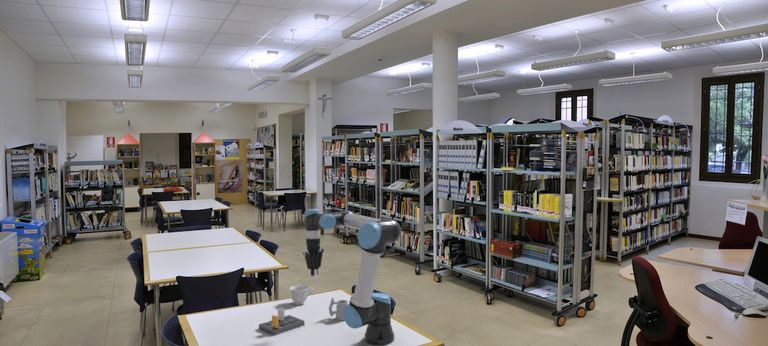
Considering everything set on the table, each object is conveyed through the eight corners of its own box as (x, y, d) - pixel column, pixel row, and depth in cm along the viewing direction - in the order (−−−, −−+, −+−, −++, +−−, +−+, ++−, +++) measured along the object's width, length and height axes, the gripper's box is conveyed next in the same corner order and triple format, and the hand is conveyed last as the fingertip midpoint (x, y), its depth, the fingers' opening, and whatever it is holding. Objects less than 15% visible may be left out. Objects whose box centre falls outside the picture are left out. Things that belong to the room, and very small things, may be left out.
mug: (347, 321, 265) (347, 300, 265) (327, 320, 267) (327, 299, 266) (350, 316, 273) (350, 296, 272) (330, 315, 274) (330, 295, 274)
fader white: (284, 319, 260) (284, 308, 260) (281, 320, 259) (281, 309, 258) (280, 318, 263) (280, 307, 262) (277, 319, 261) (277, 308, 261)
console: (304, 325, 259) (304, 320, 259) (273, 335, 245) (273, 330, 245) (289, 319, 269) (289, 314, 269) (258, 329, 254) (258, 324, 254)
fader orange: (278, 327, 249) (278, 315, 249) (275, 328, 248) (275, 316, 248) (274, 325, 252) (274, 314, 251) (272, 326, 250) (271, 314, 250)
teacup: (313, 305, 292) (313, 289, 292) (289, 307, 290) (288, 291, 290) (313, 299, 304) (313, 284, 304) (290, 300, 302) (290, 285, 302)
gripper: (317, 235, 261) (319, 277, 261) (299, 238, 251) (300, 282, 252) (326, 236, 256) (328, 279, 256) (308, 240, 246) (309, 284, 247)
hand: (314, 281), depth 254 cm, fingers closed
